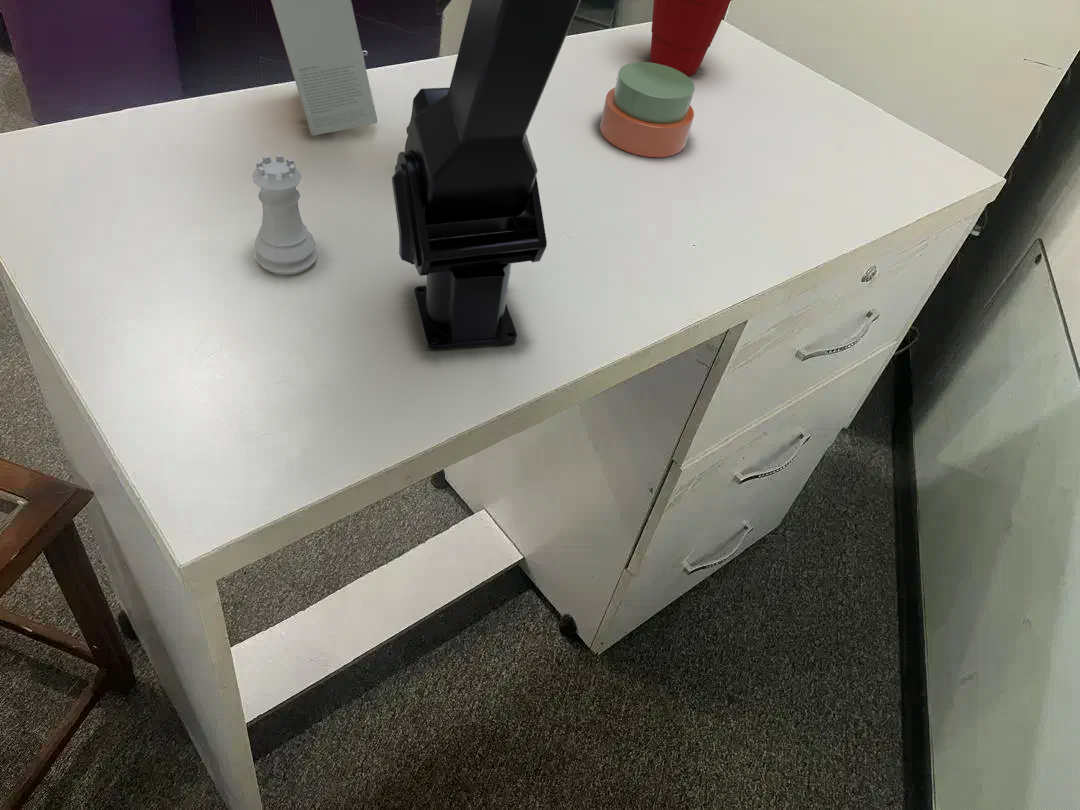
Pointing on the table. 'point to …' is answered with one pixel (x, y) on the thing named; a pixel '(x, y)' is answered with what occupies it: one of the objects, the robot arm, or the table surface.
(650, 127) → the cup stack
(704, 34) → the plastic cup
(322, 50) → the small box
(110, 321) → the table surface
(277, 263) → the rook chess piece
